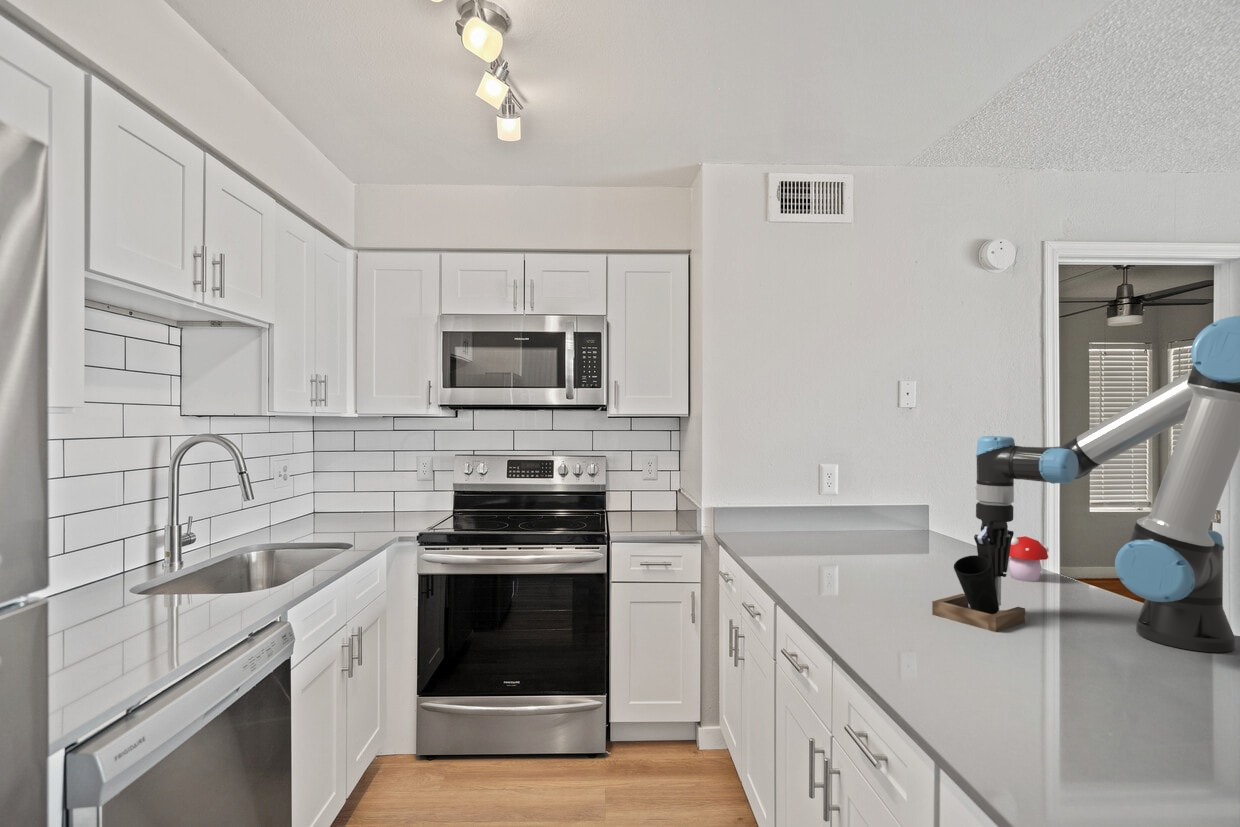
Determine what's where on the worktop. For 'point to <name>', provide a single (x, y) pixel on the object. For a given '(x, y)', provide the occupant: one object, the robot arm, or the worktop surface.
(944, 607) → the wooden u-shaped bracket
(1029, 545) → the mushroom
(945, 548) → the worktop surface
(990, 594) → the cup
